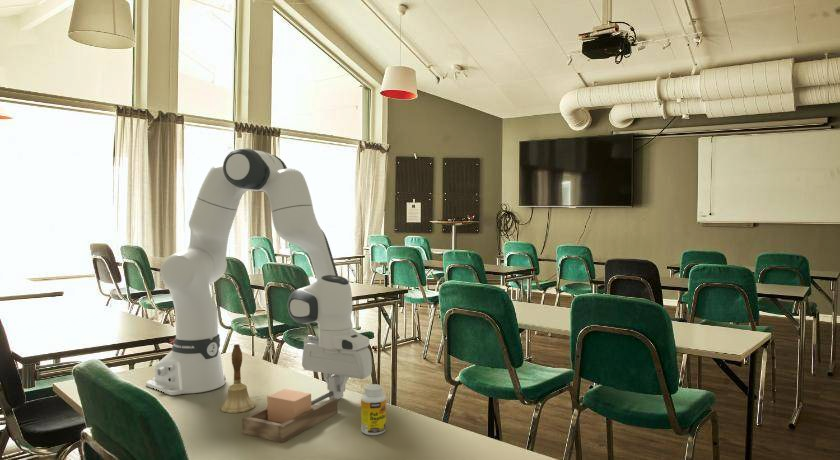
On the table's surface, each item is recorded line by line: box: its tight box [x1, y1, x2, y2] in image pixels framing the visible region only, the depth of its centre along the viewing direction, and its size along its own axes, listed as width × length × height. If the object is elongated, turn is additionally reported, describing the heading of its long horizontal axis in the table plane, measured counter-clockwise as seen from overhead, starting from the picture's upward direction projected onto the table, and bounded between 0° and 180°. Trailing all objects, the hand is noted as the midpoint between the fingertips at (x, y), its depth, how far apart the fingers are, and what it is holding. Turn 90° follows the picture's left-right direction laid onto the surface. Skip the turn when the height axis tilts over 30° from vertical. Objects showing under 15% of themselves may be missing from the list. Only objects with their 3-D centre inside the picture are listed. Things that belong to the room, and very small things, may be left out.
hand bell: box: [220, 343, 256, 414], centre depth 146 cm, size 8×8×16 cm
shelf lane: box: [241, 398, 338, 444], centre depth 136 cm, size 12×20×4 cm, turn 153°
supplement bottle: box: [360, 383, 387, 436], centre depth 130 cm, size 6×6×10 cm
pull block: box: [266, 375, 344, 423], centre depth 143 cm, size 8×24×6 cm, turn 153°
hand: (336, 390), depth 152 cm, fingers closed on pull block, 2 cm apart
